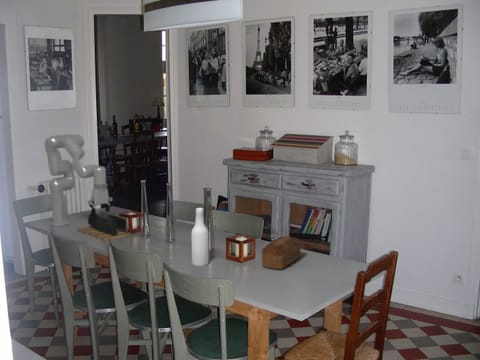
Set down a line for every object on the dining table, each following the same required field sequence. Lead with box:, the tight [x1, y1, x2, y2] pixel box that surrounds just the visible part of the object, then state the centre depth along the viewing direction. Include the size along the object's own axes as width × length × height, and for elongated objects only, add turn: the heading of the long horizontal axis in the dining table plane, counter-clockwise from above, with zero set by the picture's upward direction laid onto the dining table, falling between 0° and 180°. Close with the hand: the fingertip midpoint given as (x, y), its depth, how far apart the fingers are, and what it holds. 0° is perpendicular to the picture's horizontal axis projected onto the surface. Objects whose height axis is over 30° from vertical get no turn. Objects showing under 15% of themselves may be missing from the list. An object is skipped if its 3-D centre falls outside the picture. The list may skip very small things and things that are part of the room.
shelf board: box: [76, 225, 131, 242], centre depth 346 cm, size 34×18×2 cm, turn 45°
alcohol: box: [190, 207, 210, 267], centre depth 286 cm, size 9×9×30 cm
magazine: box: [87, 210, 118, 234], centre depth 344 cm, size 17×3×30 cm
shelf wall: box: [99, 210, 128, 233], centre depth 350 cm, size 30×1×9 cm, turn 45°
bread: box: [261, 235, 302, 270], centre depth 290 cm, size 14×28×12 cm, turn 151°
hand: (100, 212), depth 343 cm, fingers open, 9 cm apart
